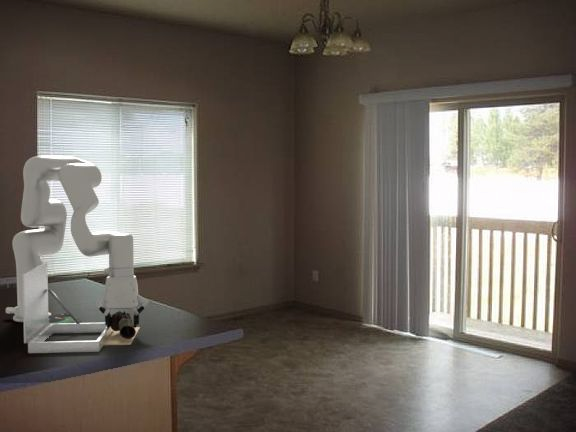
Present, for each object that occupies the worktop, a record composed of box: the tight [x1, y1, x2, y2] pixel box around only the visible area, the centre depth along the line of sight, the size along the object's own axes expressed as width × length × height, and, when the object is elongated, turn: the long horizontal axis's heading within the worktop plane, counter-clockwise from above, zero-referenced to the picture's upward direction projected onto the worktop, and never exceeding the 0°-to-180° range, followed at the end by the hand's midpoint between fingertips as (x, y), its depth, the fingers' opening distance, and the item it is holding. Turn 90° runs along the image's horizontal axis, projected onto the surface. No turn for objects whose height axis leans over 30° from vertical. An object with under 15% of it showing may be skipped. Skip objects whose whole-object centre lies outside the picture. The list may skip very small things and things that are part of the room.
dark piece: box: [111, 310, 137, 339], centre depth 197 cm, size 18×7×6 cm, turn 19°
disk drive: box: [49, 312, 83, 324], centre depth 214 cm, size 10×3×15 cm
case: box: [22, 262, 113, 354], centre depth 192 cm, size 21×23×23 cm
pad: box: [103, 326, 141, 346], centre depth 199 cm, size 8×20×1 cm, turn 5°
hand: (122, 326), depth 199 cm, fingers closed on dark piece, 7 cm apart
